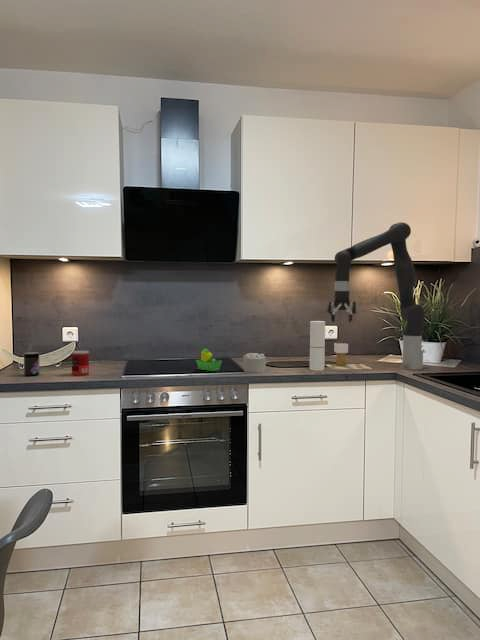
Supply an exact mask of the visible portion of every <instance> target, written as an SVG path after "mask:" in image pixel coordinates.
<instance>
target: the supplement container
mask: <svg viewBox="0 0 480 640" xmlns="http://www.w3.org/2000/svg"><path fill="white" fill-rule="evenodd" d="M40 371H41V370H40V352H38V351H37V352H36V351H34V352H33V351H30V352H24V353H23V375H24V376H25V377H38V376H39V375H40Z"/></svg>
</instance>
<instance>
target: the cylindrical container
mask: <svg viewBox="0 0 480 640" xmlns="http://www.w3.org/2000/svg"><path fill="white" fill-rule="evenodd" d="M309 323H310V324H309V327H310V328H309V337H310V338H309V373H311V374H312V371H319V372H315V374H321V372H320V371H324V370H325V362H326V361H325V358H326V357H325V356H326V355H325V354H326V353H325V348H326V347H325V346H326V345H325V343H326V341H325V340H326V321H323V320H310V321H309Z"/></svg>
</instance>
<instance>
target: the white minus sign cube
mask: <svg viewBox="0 0 480 640" xmlns="http://www.w3.org/2000/svg"><path fill="white" fill-rule="evenodd" d="M333 346H334V347H333V348H334V349H333V350H334V353H335V354H336V353H346V354H349V343H347V342H334V344H333Z"/></svg>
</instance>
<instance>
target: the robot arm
mask: <svg viewBox="0 0 480 640" xmlns="http://www.w3.org/2000/svg"><path fill="white" fill-rule="evenodd" d="M411 229H412V228H411V226H410V225H409V224H408V223H406V222H404V221H403V222H401V221H400V222H397V223H393V224H392V225H390V227H389V229H388V230H386V231H384V232H382V233H380V234H378V235H375V236H372V237H370V238H367V239H365V240H362V241H360V242H358V243H355V244H353V245H352V246H351V247H348V248H345V249H343V250H340V251H337V253H335V255H334V262H335V263H336V270H335V274H334V275H335V278H334V301H327V311H326V312H327V314H330V321H331V323H335V322H336V321H335V319H336V318H335V317H336V316H335V314H336V313H337V312H338V311H346V312H347V313H348V317H347V318H348V320H347V321H348V323H352V321H353V315H354V314H356V313H357V307H356V306H357V304H356V303H357V302H356V301H351V300H350V293H351V292H350V290H351V287H350V269H351V262H352V261H353V260H356V259H360V258H362V257H365V256H366V255H369V254H371V253H373V252H375V251H376V250H379V249H381V248H383V247H385V246H387V245H391V250H392V255H393V265H394V270H395V276H396V281H397V282H396V283H397V287H398V293H399V294H398V295H399V300H400V301H399V307H400V316H401V318H402V319H403V320H404V321H405V322H406V327H405V328H404V329H403V330H402V359H401V360H402V363H401V369H404V370H412V371H413V370H415V371H417V370H423V369H424V368H423V367H424V365H423V364H424V350H422V346H423V345H422V341H423V340H422V339H423V331H424V328H425V317H426V316H425V315H426V314H425V309H424V307H422V305H420V304H415V300H414V289H415V285H416V271H415V266H414V262H413V260H412V258H411V256H410V253H409V252H408V248H407V243H406V240H407V239H408V238H409V237H410V235H411V232H412V230H411ZM333 305H334V308H333V309H332V307H333ZM349 306H351V308H350V307H349Z"/></svg>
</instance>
